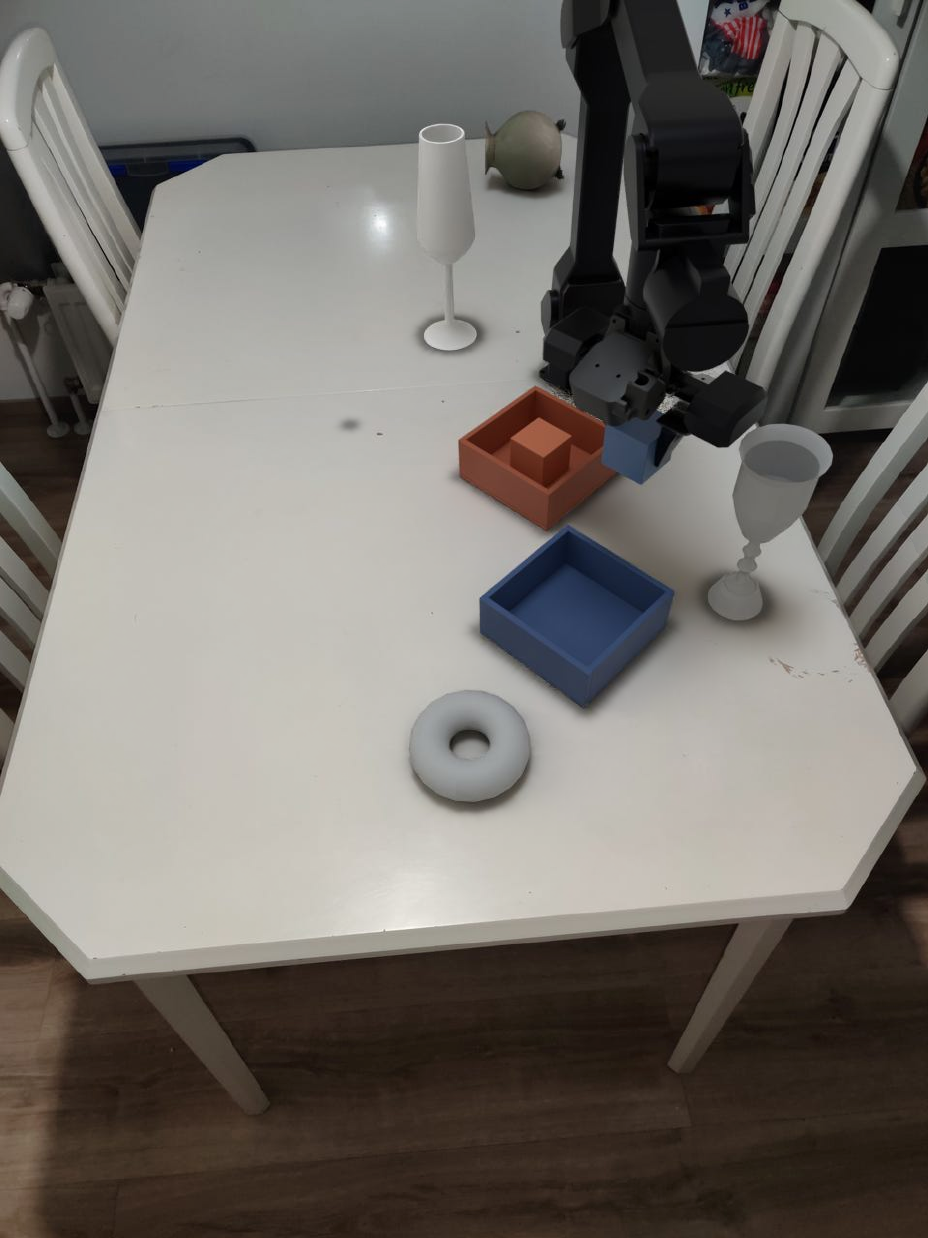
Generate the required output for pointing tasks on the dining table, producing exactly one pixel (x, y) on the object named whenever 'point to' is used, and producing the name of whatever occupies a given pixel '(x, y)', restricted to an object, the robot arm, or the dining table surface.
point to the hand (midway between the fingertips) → (636, 452)
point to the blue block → (633, 448)
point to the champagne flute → (445, 221)
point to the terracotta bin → (544, 506)
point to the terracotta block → (540, 452)
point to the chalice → (768, 504)
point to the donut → (464, 774)
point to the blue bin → (575, 613)
